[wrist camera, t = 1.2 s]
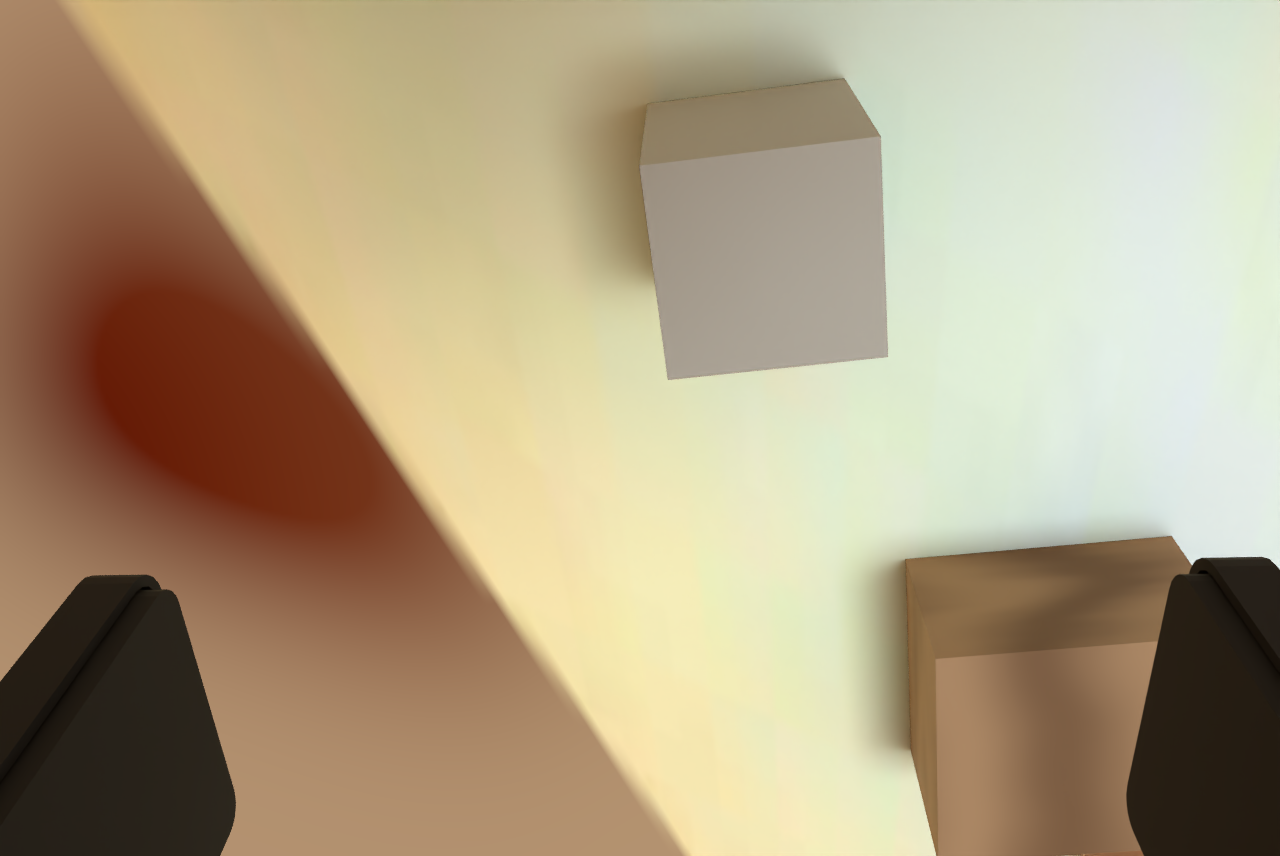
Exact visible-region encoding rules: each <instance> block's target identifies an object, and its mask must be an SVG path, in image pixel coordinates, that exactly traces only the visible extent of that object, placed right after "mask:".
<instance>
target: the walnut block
mask: <svg viewBox="0 0 1280 856" xmlns="http://www.w3.org/2000/svg"><path fill="white" fill-rule="evenodd" d="M1191 567H1192V565H1191V564H1190V562H1189V561H1188V559H1187V558H1186V556H1185V555H1184V553H1183V552H1182V550H1181V549H1180V548H1179V546H1178V545H1177V543H1176V542H1175V540H1174V539H1173V537H1172V536H1167V537H1156V538H1144V539H1133V540H1121V541H1110V542H1098V543H1087V544H1075V545H1064V546H1052V547H1041V548H1029V549H1018V550H1006V551H995V552H983V553H972V554H960V555H949V556H937V557H926V558H914V559H906V592H907V628H908V665H909V701H910V737H911V753H912V757H913V761H914V766H915V770H916V774H917V778H918V782H919V786H920V790H921V794H922V798H923V802H924V806H925V811H926V815H927V819H928V823H929V827H930V831H931V835H932V839H933V843H934V847H935V851H936V856H1063V855H1078V854H1094V853H1110V852H1126V851H1141V848H1140V846H1139V844H1138V842H1137V839H1136V837H1135V835H1134V832H1133V830H1132V827H1131V824H1130V821H1129V816H1128V811H1127V803H1126V791H1127V784H1128V779H1129V775H1130V770H1131V765H1132V761H1133V756H1134V751H1135V746H1136V742H1137V737H1138V732H1139V728H1140V723H1141V718H1142V714H1143V709H1144V704H1145V700H1146V695H1147V690H1148V686H1149V681H1150V676H1151V671H1152V667H1153V662H1154V657H1155V653H1156V648H1157V643H1158V639H1159V634H1160V629H1161V625H1162V620H1163V615H1164V611H1165V606H1166V601H1167V596H1168V592H1169V588H1170V585H1171V581H1172V580H1173V578H1174V577H1175V576H1176V575H1179V574H1189V572H1190V569H1191Z"/></svg>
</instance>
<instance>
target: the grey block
mask: <svg viewBox="0 0 1280 856" xmlns="http://www.w3.org/2000/svg"><path fill="white" fill-rule="evenodd" d="M639 168H640V176H641V183H642V190H643V198H644V205H645V213H646V220H647V228H648V235H649V243H650V250H651V258H652V265H653V272H654V280H655V287H656V295H657V302H658V310H659V317H660V325H661V332H662V340H663V347H664V354H665V362H666V369H667V377H668V380H672V379H682V378H691V377H701V376H711V375H720V374H730V373H739V372H749V371H759V370H768V369H778V368H787V367H797V366H806V365H816V364H826V363H835V362H845V361H854V360H864V359H873V358H883V357H888V342H887V312H886V282H885V253H884V223H883V193H882V163H881V136H880V135H879V133H878V131H877V130H876V128H875V127H874V125H873V123H872V122H871V120H870V118H869V117H868V115H867V114H866V112H865V110H864V109H863V107H862V106H861V104H860V102H859V101H858V99H857V98H856V96H855V94H854V93H853V91H852V89H851V88H850V86H849V85H848V83H847V81H846V80H845V79H837V80H829V81H821V82H813V83H805V84H797V85H790V86H782V87H774V88H766V89H758V90H750V91H742V92H735V93H727V94H719V95H711V96H703V97H695V98H687V99H679V100H672V101H664V102H656V103H648V104H647V111H646V119H645V126H644V134H643V141H642V149H641V156H640V164H639Z"/></svg>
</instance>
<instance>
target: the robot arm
mask: <svg viewBox="0 0 1280 856" xmlns="http://www.w3.org/2000/svg"><path fill="white" fill-rule="evenodd" d="M1126 803H1127V811H1128V816H1129V821H1130V824H1131V827H1132V830H1133V832H1134V835H1135V837H1136V839H1137V842H1138V844H1139V846H1140V848H1141V851H1142V853H1143V855H1144V856H1280V570H1279V568H1278V567H1277V566H1276V565H1275V564H1274V563H1273V562H1272V561H1271V560H1270V559H1267V558H1264V557H1230V558H1201V559H1198V560H1196V561H1195V562H1194V564H1193V565H1192V567H1191V569H1190V572H1189V574H1179V575H1176V576H1175V577H1174V578H1173V580H1172V581H1171V585H1170V588H1169V592H1168V596H1167V601H1166V606H1165V611H1164V615H1163V620H1162V625H1161V629H1160V634H1159V639H1158V643H1157V648H1156V653H1155V657H1154V662H1153V667H1152V671H1151V676H1150V681H1149V686H1148V690H1147V695H1146V700H1145V704H1144V709H1143V714H1142V718H1141V723H1140V728H1139V732H1138V737H1137V742H1136V746H1135V751H1134V756H1133V761H1132V765H1131V770H1130V775H1129V779H1128V784H1127V791H1126ZM235 808H236V800H235V792H234V789H233V785H232V781H231V778H230V774H229V771H228V768H227V764H226V761H225V757H224V754H223V751H222V747H221V744H220V740H219V737H218V734H217V730H216V727H215V723H214V720H213V717H212V713H211V710H210V706H209V703H208V700H207V696H206V693H205V689H204V686H203V683H202V679H201V676H200V672H199V669H198V666H197V662H196V659H195V656H194V652H193V649H192V645H191V642H190V638H189V635H188V632H187V628H186V625H185V621H184V618H183V615H182V611H181V608H180V605H179V602H178V599H177V597H176V595H175V594H174V593H173V592H172V591H170V590H161V588H160V585H159V583H158V582H157V581H156V580H155V579H154V577H151V576H149V575H104V576H103V575H102V576H101V575H99V576H90V577H86V578H84V579H83V580H82V581H81V582H80V583H79V584H78V585H77V586H76V587H75V589H74V590H73V591H72V592H71V594H70V595H69V596H68V597H67V599H66V600H65V601H64V602H63V604H62V605H61V606H60V608H59V609H58V610H57V611H56V612H55V614H54V615H53V616H52V617H51V619H50V620H49V621H48V622H47V624H46V625H45V626H44V627H43V629H42V630H41V632H40V633H39V634H38V635H37V636H36V637H35V639H34V640H33V641H32V643H31V644H30V645H29V646H28V648H27V649H26V650H25V651H24V653H23V654H22V655H21V656H20V658H19V659H18V660H17V661H16V663H15V664H14V665H13V666H12V668H11V669H10V670H9V672H8V673H7V674H6V675H5V676H4V678H3V679H2V680H1V681H0V856H220V855H221V852H222V850H223V848H224V846H225V843H226V841H227V839H228V837H229V835H230V832H231V829H232V826H233V822H234V818H235Z"/></svg>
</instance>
